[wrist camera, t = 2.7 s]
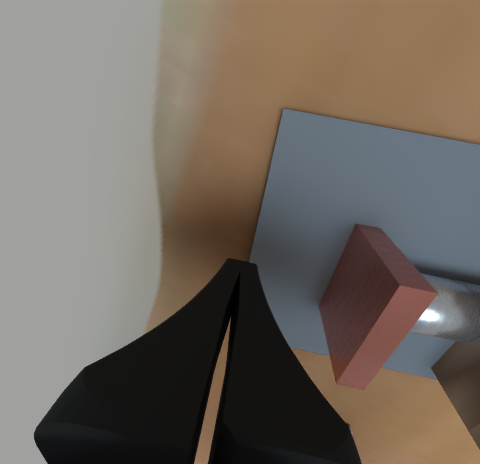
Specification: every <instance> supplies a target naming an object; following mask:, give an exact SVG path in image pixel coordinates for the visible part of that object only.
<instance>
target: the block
mask: <svg viewBox="0 0 480 464" xmlns="http://www.w3.org/2000/svg"><path fill="white" fill-rule="evenodd" d="M431 369H432V371H433V373H434V374H435V376H436V378H437V379H438V381H439V383H440V384H441V386H442V388H443V389H444V391H445V393H446V394H447V396H448V398H449V399H450V401H451V403H452V404H453V406H454V408H455V409H456V411H457V413H458V414H459V416H460V418H461V419H462V421H463V422H464V424H465V426H466V427H467V429H468V431H469V432H470V434H471V436H472V437H473V439H474V441H475V442H476V444H477V446H478V447H479V449H480V346H477V345H472V344H467V343H463V342H458V341H456V342H455V343H454V344H453V345H452V346H451V347H450V348H449V349H448V350H447V351H446V352H445V353H444V354H443V355H442V356H441V357H440V359H439V360H438V361H437V362H436V363H435V364H434V365H433V366H432V367H431Z"/></svg>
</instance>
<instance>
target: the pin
mask: <svg viewBox="0 0 480 464" xmlns="http://www.w3.org/2000/svg"><path fill="white" fill-rule="evenodd" d="M319 310H320V314H321V319H322V323H323V328H324V332H325V337H326V341H327V345H328V350H329V354H330V359H331V363H332V368H333V372H334V376H335V381H336V384H340V385H345V386H349V387H354V388H358V389H362V390H364V389H365V388H366V387H367V385H368V384H369V383H370V381H371V380H372V379H373V378H374V376H375V375H376V374H377V372H378V371H379V370H380V369H381V367H382V366H383V365H384V363H385V362H386V361H387V360H388V358H389V357H390V356H391V354H392V353H393V352H394V350H395V349H396V348H397V347H398V345H399V344H400V343H401V341H402V340H403V339H404V338H405V336H406V335H407V334H408V332H409V331H411V332H416V333H421V334H425V335H430V336H435V337H439V338H444V339H449V340H453V341H458V342H463V343H467V344H472V345H477V346H480V285H476V284H471V283H467V282H462V281H457V280H452V279H447V278H442V277H437V276H432V275H428V274H423V273H420V272H419V271H418V270H417V269H416V267H415V266H414V265H413V264H412V263H411V262H410V261H409V260H408V258H407V257H406V256H405V255H404V254H403V253H402V252H401V250H400V249H399V248H398V247H397V246H396V245H395V244H394V243H393V241H392V240H391V239H390V238H389V237H388V236H387V235H386V234H385V232H384V231H383V230H382V229H381V228H377V227H372V226H367V225H362V224H357V223H356V224H355V226H354V228H353V231H352V233H351V235H350V237H349V240H348V242H347V244H346V246H345V248H344V251H343V253H342V255H341V257H340V259H339V262H338V264H337V266H336V268H335V270H334V273H333V275H332V277H331V279H330V282H329V284H328V286H327V288H326V290H325V293H324V295H323V297H322V299H321V301H320V304H319Z"/></svg>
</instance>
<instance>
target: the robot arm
mask: <svg viewBox="0 0 480 464" xmlns="http://www.w3.org/2000/svg"><path fill="white" fill-rule="evenodd" d="M230 318H231V323H230V332H229V342H228V352H227V362H226V369H225V376H224V381H223V387H222V392H221V397H220V403H219V408H218V413H217V419H216V424H215V429H214V434H213V440H212V445H211V450H210V456H209V461H208V464H362V463H361V460H360V457H359V454H358V451H357V448H356V445H355V442H354V439H353V436H352V430H351V428H350V427H348V426H347V424H346V423H345V422H344V421H343V420H342V418H341V417H340V416H339V415H338V413H337V412H336V411H335V410H334V409H333V407H332V406H331V405H330V404H329V403H328V401H327V400H326V399H325V398H324V396H323V395H322V394H321V392H320V391H319V390H318V388H317V387H316V385H315V384H314V383H313V381H312V380H311V379H310V377H309V376H308V374H307V373H306V371H305V370H304V368H303V367H302V365H301V364H300V362H299V361H298V359H297V358H296V356H295V355H294V353H293V352H292V350H291V348H290V347H289V345H288V343H287V341H286V340H285V338H284V336H283V334H282V332H281V330H280V329H279V327H278V325H277V323H276V320H275V318H274V316H273V314H272V311H271V309H270V307H269V304H268V302H267V299H266V296H265V294H264V291H263V288H262V284H261V281H260V277H259V273H258V266H257V265H256V264H255V263H250V262H245V261H240V260H236V259H231V258H229V259H227V260H226V261H225V263H224V264H223V266H222V267H221V269H220V270H219V271H218V272H217V274H216V275H215V276H214V277H213V278H212V279H211V281H210V282H209V283H208V284H207V285H206V286H205V287H204V288H203V289H202V290H201V291H200V292H199V293H198V294H197V295H196V296H195V297H194V298H193V299H192V300H191V301H189V302H188V303H187V304H186V305H185V306H184V307H182V308H181V309H180V310H179V311H177V312H176V313H175V314H174V315H172V316H171V317H169V318H168V319H167V320H165V321H164V322H163V323H161V324H160V325H158V326H157V327H155V328H154V329H152V330H151V331H149V332H148V333H146V334H144V335H143V336H141V337H140V338H138V339H136V340H135V341H133V342H131V343H130V344H128V345H126V346H125V347H123V348H121V349H119V350H117V351H115V352H113V353H111V354H110V355H108V356H106V357H104V358H102V359H100V360H98V361H96V362H94V363H92V364H90V365H88V366H86V367H85V368H84V369H83V370H82V371H81V372H80V373H79V374H78V375H77V377H76V378H75V379H74V380H73V381H72V382H71V383H70V385H69V386H68V387H67V388H66V389H65V390H64V391H63V393H62V394H61V395H60V397H59V398H58V399H57V401H56V402H55V403H54V405H53V406H52V407H51V409H50V410H49V411H48V413H47V414H46V415H45V417H44V418H43V419H42V421H41V422H40V423H39V425H38V426H37V427H36V430H35V432H34V440H35V442H36V445H37V447H38V448H39V450H40V452H41V453H42V455H43V457H44V458H45V460H46V462H47V463H48V464H194V461H195V456H196V452H197V447H198V443H199V438H200V434H201V429H202V424H203V420H204V415H205V411H206V406H207V402H208V397H209V393H210V388H211V384H212V379H213V374H214V370H215V367H216V363H217V360H218V356H219V353H220V350H221V347H222V343H223V340H224V337H225V334H226V331H227V327H228V324H229V321H230Z"/></svg>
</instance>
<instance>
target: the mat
mask: <svg viewBox="0 0 480 464" xmlns="http://www.w3.org/2000/svg"><path fill="white" fill-rule="evenodd" d="M356 223H357V224H362V225H367V226H372V227H377V228H381V229H382V230H383V231H384V232H385V234H386V235H387V236H388V237H389V238H390V239H391V240H392V241H393V243H394V244H395V245H396V246H397V247H398V248H399V249H400V250H401V252H402V253H403V254H404V255H405V256H406V257H407V258H408V260H409V261H410V262H411V263H412V264H413V265H414V266H415V267H416V269H417V270H418V271H419V272H420V273H423V274H428V275H432V276H437V277H442V278H447V279H452V280H457V281H462V282H467V283H471V284H476V285H480V145H478V144H473V143H467V142H462V141H456V140H451V139H446V138H440V137H435V136H429V135H424V134H419V133H413V132H408V131H402V130H397V129H392V128H386V127H381V126H375V125H370V124H365V123H359V122H354V121H348V120H343V119H337V118H332V117H327V116H321V115H316V114H310V113H305V112H300V111H294V110H289V109H283V111H282V115H281V120H280V124H279V129H278V133H277V138H276V142H275V147H274V151H273V156H272V160H271V165H270V169H269V174H268V178H267V183H266V187H265V192H264V196H263V201H262V205H261V210H260V214H259V219H258V223H257V228H256V232H255V237H254V241H253V246H252V250H251V255H250V259H249V262H250V263H255V264H256V265H257V266H258V273H259V277H260V281H261V284H262V288H263V291H264V294H265V296H266V299H267V302H268V304H269V307H270V309H271V311H272V314H273V316H274V318H275V320H276V323H277V325H278V327H279V329H280V330H281V332H282V334H283V336H284V338H285V340H286V341H287V343H288V345H289V347H291V348H295V349H300V350H304V351H309V352H313V353H318V354H322V355H327V356H330V354H329V350H328V345H327V341H326V337H325V332H324V328H323V323H322V319H321V314H320V310H319V304H320V301H321V299H322V297H323V295H324V293H325V290H326V288H327V286H328V284H329V282H330V279H331V277H332V275H333V273H334V270H335V268H336V266H337V264H338V262H339V259H340V257H341V255H342V253H343V251H344V248H345V246H346V244H347V242H348V240H349V237H350V235H351V233H352V231H353V228H354V226H355V224H356ZM455 342H456V341H453V340H449V339H444V338H439V337H435V336H430V335H425V334H421V333H416V332H411V331H409V332H408V334H407V335H406V336H405V338H404V339H403V340H402V341H401V343H400V344H399V345H398V347H397V348H396V349H395V350H394V352H393V353H392V354H391V356H390V357H389V358H388V360H387V361H386V362H385V363H384V365H383V366H382V367H381V368H386V369H391V370H395V371H400V372H404V373H409V374H413V375H418V376H422V377H427V378H431V379H436V380H438V379H437V378H436V376H435V374H434V373H433V371H432V369H431V367H432V366H433V365H434V364H435V363H436V362H437V361H438V360H439V359H440V357H441V356H442V355H443V354H444V353H445V352H446V351H447V350H448V349H449V348H450V347H451V346H452V345H453V344H454V343H455Z"/></svg>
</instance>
